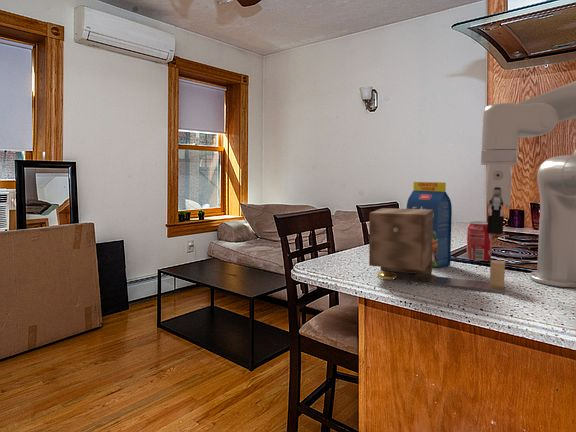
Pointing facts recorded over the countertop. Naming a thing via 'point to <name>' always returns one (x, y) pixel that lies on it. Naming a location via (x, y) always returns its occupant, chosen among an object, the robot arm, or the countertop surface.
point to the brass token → (387, 275)
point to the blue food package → (435, 217)
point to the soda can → (479, 242)
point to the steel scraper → (493, 286)
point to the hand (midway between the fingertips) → (494, 230)
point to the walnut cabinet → (401, 240)
